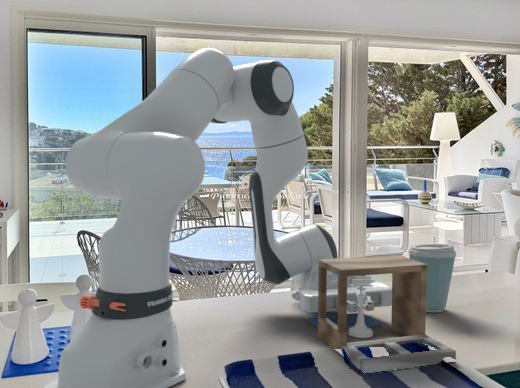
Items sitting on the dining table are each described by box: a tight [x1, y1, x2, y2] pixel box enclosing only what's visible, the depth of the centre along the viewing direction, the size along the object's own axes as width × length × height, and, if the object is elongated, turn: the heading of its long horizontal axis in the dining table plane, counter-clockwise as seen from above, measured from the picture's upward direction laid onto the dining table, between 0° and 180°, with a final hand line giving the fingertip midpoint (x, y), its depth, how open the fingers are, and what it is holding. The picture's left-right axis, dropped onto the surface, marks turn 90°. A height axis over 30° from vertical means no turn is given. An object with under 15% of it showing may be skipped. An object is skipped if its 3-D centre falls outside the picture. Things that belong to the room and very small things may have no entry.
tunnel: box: [317, 254, 457, 375], centre depth 99 cm, size 19×17×15 cm
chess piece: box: [347, 284, 374, 339], centre depth 107 cm, size 5×5×10 cm
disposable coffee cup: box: [407, 243, 457, 313], centre depth 124 cm, size 11×11×15 cm
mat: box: [307, 312, 383, 331], centre depth 114 cm, size 9×13×1 cm
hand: (363, 307), depth 106 cm, fingers closed on chess piece, 2 cm apart
